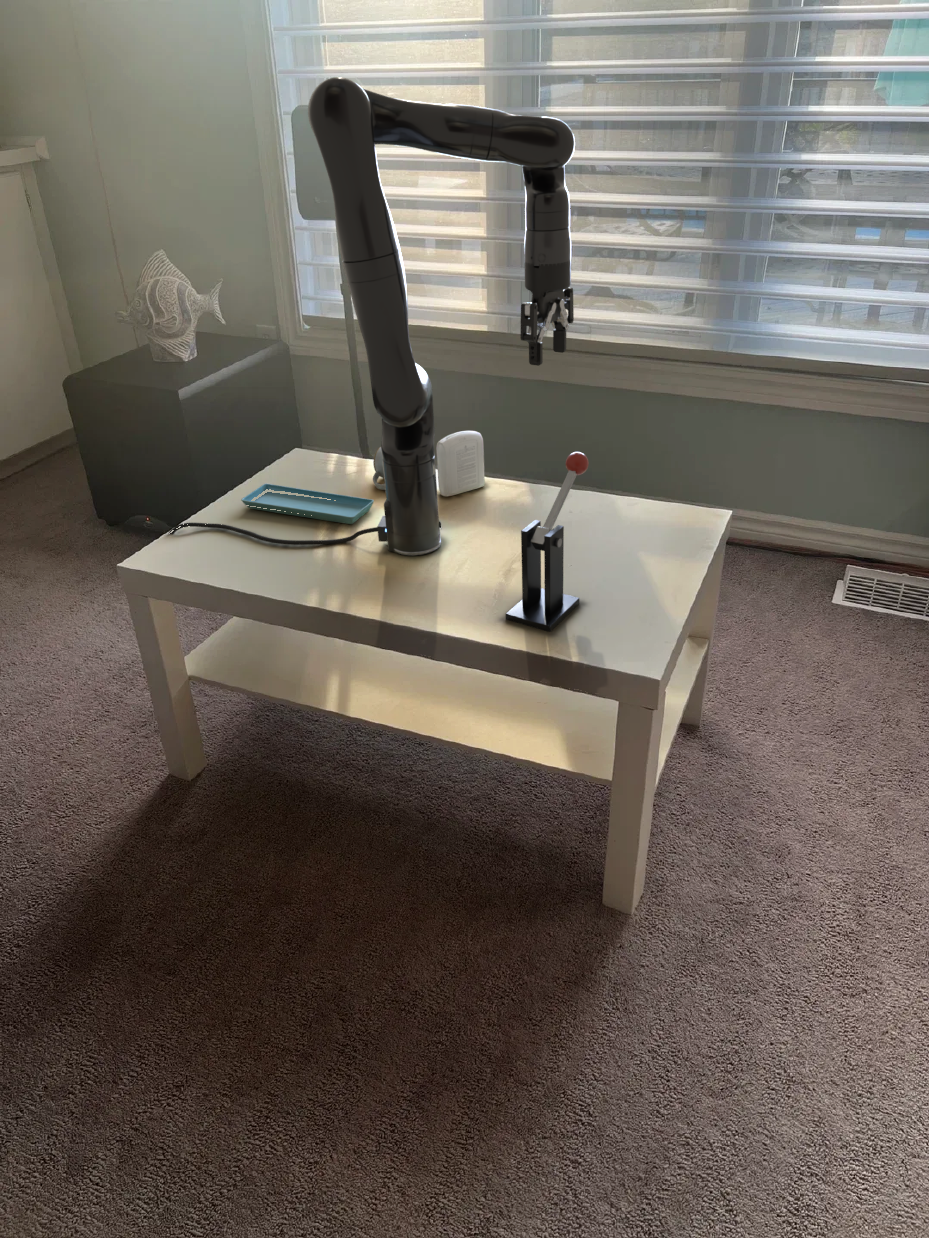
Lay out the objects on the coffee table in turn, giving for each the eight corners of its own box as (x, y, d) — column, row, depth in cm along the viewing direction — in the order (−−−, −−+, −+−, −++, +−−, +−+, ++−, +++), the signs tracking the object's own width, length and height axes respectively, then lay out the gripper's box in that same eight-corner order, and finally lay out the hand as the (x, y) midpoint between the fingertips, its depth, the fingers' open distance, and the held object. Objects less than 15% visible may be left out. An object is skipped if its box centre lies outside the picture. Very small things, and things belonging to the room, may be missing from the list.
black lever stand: (536, 592, 152) (535, 511, 145) (579, 604, 148) (581, 520, 141) (505, 620, 145) (502, 535, 138) (550, 632, 141) (550, 546, 134)
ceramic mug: (391, 470, 202) (387, 437, 198) (423, 475, 199) (420, 441, 195) (364, 488, 195) (360, 454, 190) (396, 494, 191) (392, 459, 187)
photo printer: (476, 480, 195) (474, 424, 189) (488, 486, 192) (486, 429, 185) (435, 493, 190) (431, 435, 184) (446, 499, 187) (443, 441, 181)
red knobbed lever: (574, 458, 147) (568, 445, 144) (594, 462, 145) (588, 449, 142) (532, 550, 142) (525, 538, 139) (552, 554, 140) (546, 543, 137)
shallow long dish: (376, 508, 185) (374, 497, 184) (354, 527, 178) (352, 515, 176) (267, 493, 194) (265, 482, 193) (241, 511, 187) (239, 499, 186)
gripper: (548, 249, 155) (548, 346, 163) (505, 264, 145) (507, 366, 153) (588, 251, 151) (586, 350, 160) (547, 267, 141) (547, 371, 150)
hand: (547, 358), depth 157 cm, fingers open, 8 cm apart
